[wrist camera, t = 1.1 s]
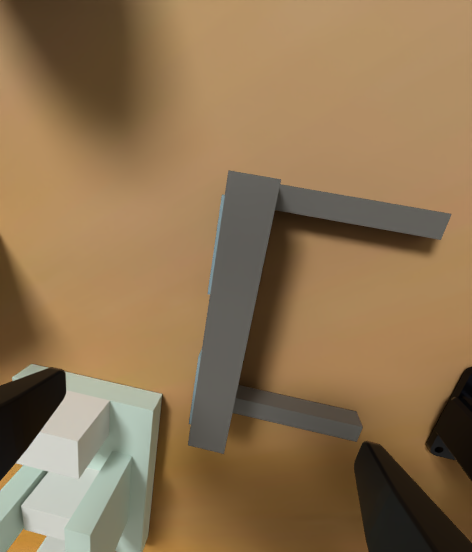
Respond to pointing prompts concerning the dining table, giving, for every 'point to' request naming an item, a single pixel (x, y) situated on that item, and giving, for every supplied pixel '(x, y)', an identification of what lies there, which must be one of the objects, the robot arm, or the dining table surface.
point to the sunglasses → (243, 292)
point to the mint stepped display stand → (87, 471)
